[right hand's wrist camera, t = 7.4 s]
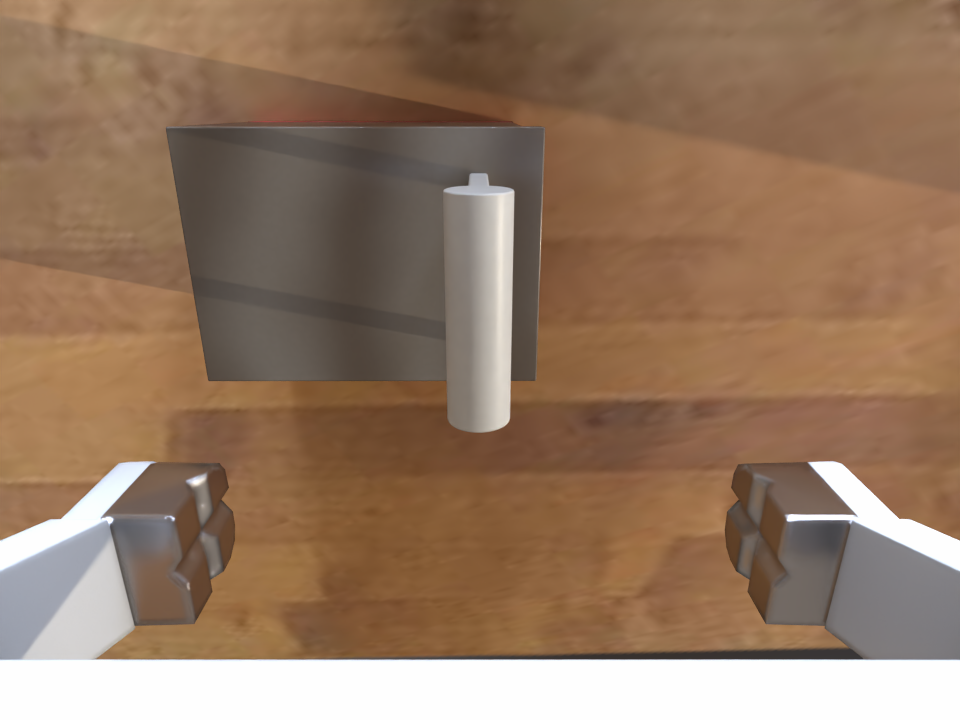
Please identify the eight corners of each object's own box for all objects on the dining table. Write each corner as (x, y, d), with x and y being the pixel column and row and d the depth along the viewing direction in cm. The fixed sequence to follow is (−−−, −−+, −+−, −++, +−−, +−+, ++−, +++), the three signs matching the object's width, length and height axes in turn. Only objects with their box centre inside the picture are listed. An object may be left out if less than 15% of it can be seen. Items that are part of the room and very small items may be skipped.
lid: (542, 126, 25) (573, 135, 17) (534, 371, 29) (556, 475, 21) (177, 126, 25) (33, 134, 17) (217, 372, 29) (114, 475, 21)
